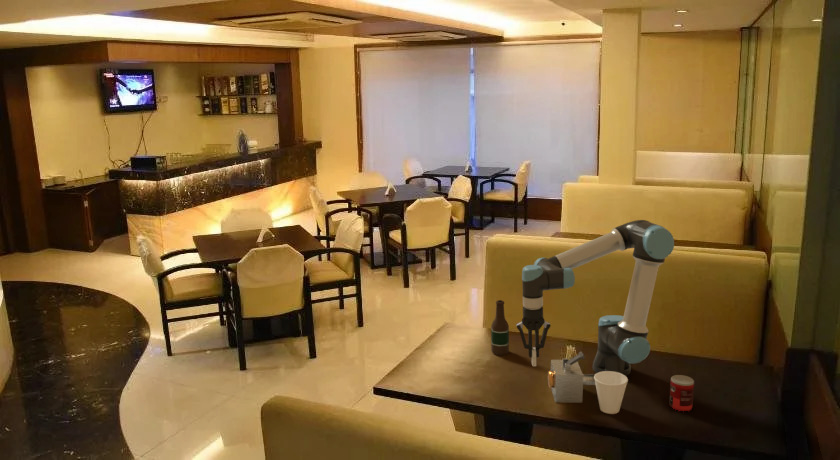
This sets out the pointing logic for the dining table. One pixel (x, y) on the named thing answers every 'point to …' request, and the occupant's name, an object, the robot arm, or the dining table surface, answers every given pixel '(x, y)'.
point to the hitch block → (567, 381)
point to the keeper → (575, 358)
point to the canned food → (681, 392)
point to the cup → (610, 390)
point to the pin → (587, 379)
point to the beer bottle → (500, 331)
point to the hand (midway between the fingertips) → (534, 364)
